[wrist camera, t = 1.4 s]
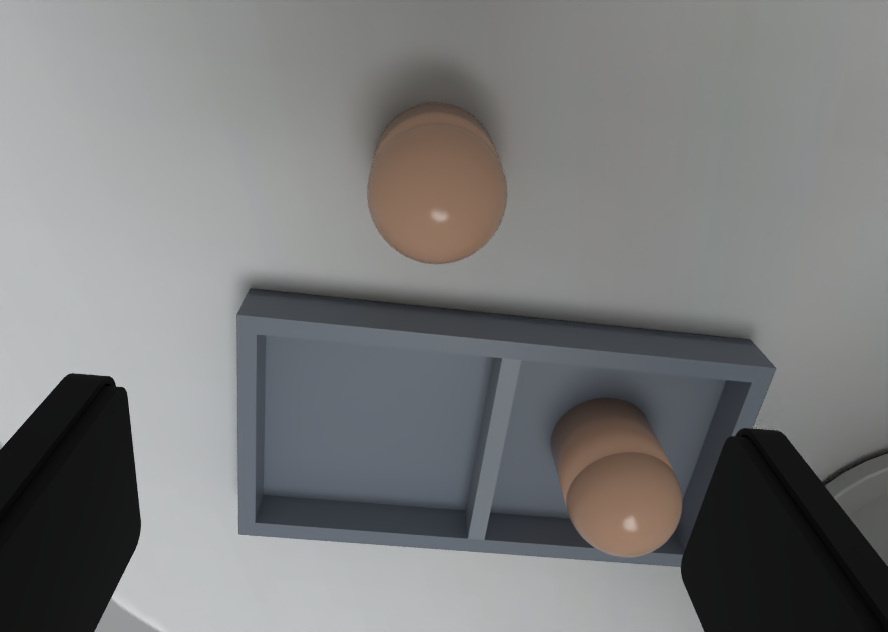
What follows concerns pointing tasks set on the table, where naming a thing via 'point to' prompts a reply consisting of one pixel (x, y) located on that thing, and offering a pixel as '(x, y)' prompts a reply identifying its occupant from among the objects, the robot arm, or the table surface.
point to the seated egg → (615, 478)
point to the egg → (436, 184)
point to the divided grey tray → (460, 420)
